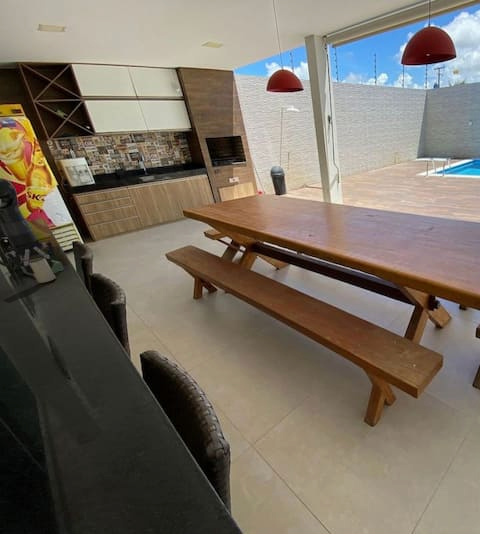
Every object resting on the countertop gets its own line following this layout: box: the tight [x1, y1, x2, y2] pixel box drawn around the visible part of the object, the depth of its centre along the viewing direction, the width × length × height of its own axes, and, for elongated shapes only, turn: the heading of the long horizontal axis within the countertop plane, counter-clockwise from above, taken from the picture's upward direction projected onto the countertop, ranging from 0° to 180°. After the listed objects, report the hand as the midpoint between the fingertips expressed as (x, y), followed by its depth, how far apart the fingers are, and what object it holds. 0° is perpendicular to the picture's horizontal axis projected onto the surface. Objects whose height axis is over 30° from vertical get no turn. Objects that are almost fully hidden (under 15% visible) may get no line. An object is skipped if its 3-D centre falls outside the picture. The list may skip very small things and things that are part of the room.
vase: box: [19, 254, 42, 261], centre depth 149 cm, size 7×7×9 cm
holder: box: [19, 259, 66, 277], centre depth 139 cm, size 8×16×4 cm, turn 66°
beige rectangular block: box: [28, 257, 57, 284], centre depth 127 cm, size 6×6×9 cm
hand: (41, 270), depth 127 cm, fingers closed on beige rectangular block, 5 cm apart
